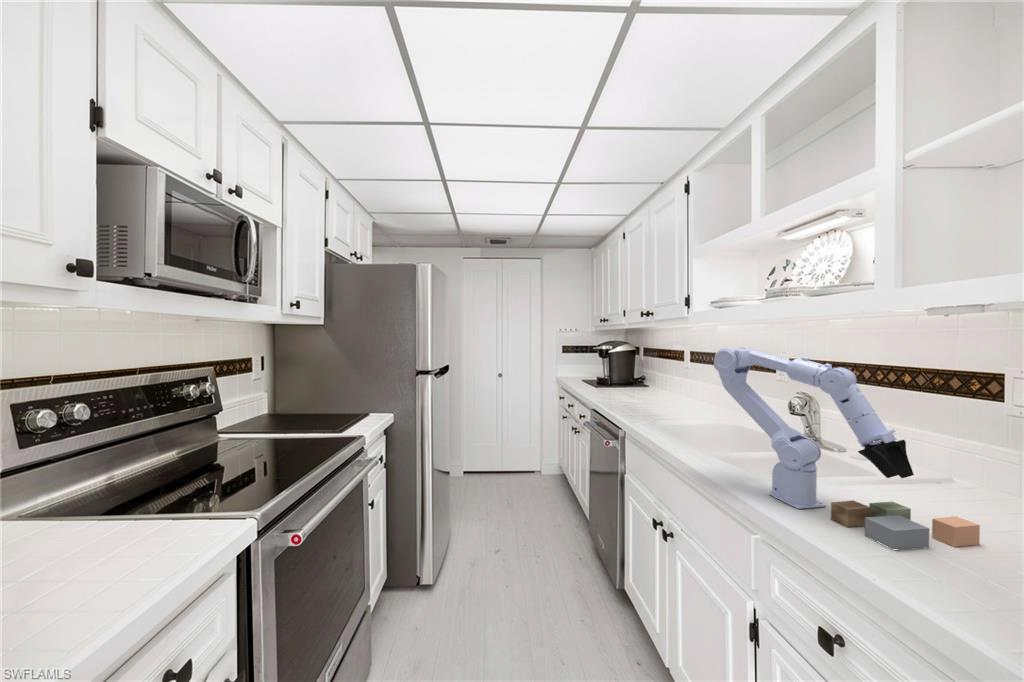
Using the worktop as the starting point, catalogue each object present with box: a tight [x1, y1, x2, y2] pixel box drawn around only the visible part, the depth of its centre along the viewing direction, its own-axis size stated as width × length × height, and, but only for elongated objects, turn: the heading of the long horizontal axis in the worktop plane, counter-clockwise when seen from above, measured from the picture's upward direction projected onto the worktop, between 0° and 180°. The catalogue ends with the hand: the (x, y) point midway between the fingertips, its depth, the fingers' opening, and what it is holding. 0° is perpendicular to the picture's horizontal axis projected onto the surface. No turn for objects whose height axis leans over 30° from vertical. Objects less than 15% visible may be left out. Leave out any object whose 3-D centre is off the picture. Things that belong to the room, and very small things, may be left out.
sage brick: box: [868, 501, 912, 521], centre depth 95 cm, size 4×6×4 cm, turn 98°
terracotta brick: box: [931, 516, 981, 548], centre depth 87 cm, size 4×6×4 cm, turn 99°
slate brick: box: [864, 515, 930, 550], centre depth 87 cm, size 6×8×4 cm
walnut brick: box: [830, 499, 871, 528], centre depth 96 cm, size 4×6×4 cm, turn 100°
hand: (899, 476), depth 91 cm, fingers open, 7 cm apart
